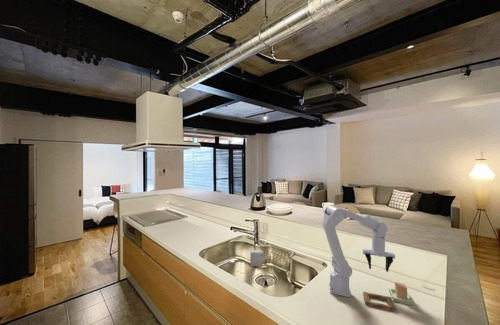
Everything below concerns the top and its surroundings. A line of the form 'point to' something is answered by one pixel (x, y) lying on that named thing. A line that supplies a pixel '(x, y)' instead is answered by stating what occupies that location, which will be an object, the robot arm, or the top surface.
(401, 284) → the block
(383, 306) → the pocket board
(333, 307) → the top surface
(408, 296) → the tray
